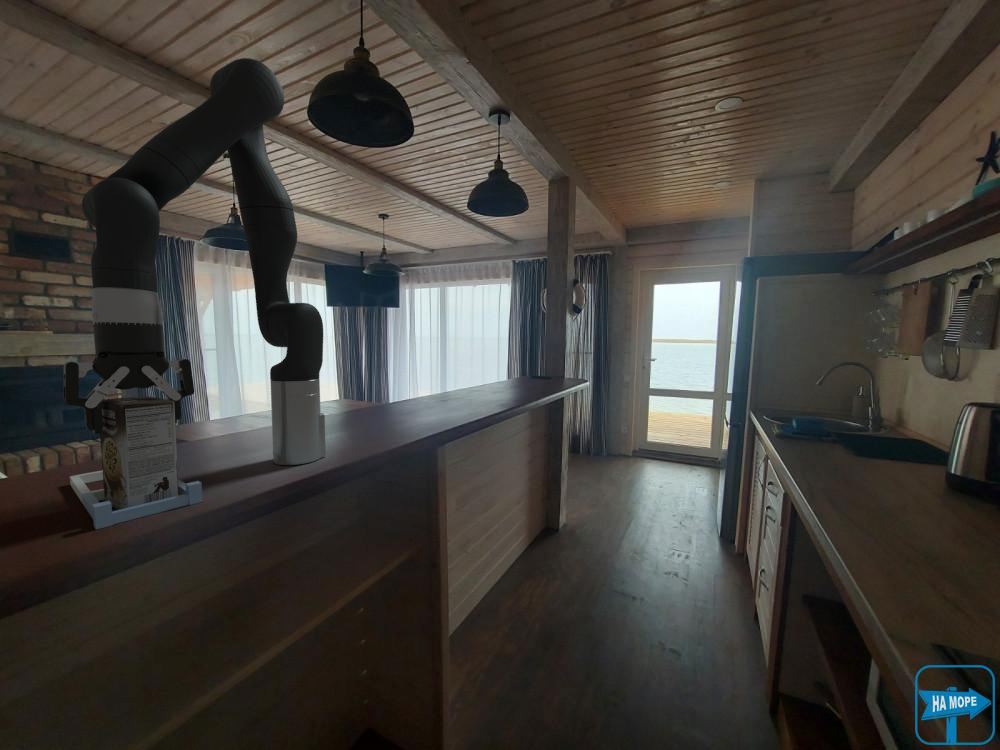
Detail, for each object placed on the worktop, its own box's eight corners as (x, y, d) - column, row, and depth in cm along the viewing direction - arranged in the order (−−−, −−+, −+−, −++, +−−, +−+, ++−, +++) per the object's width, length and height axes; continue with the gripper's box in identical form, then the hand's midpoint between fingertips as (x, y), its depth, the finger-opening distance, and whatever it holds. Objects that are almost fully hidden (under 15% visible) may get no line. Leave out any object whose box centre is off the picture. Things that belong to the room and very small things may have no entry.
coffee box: (102, 503, 60) (94, 399, 58) (155, 490, 65) (149, 395, 64) (126, 516, 55) (119, 404, 54) (181, 500, 61) (175, 398, 60)
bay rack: (154, 468, 77) (154, 453, 76) (202, 501, 60) (201, 482, 60) (67, 485, 67) (66, 468, 67) (95, 529, 51) (94, 507, 51)
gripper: (181, 324, 66) (186, 418, 67) (54, 320, 55) (64, 433, 56) (195, 322, 62) (201, 423, 63) (60, 317, 50) (71, 440, 51)
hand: (136, 428), depth 59 cm, fingers open, 8 cm apart
